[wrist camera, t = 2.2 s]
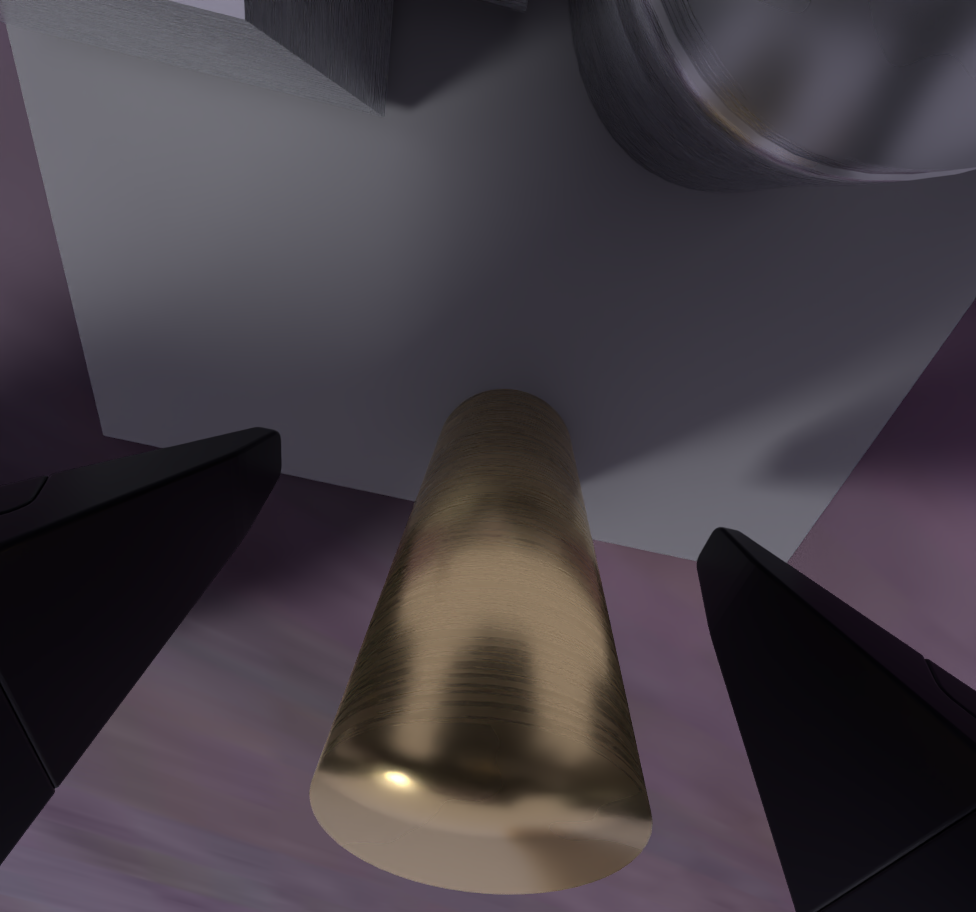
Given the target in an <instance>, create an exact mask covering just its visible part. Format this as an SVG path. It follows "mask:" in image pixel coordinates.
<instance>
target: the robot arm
mask: <svg viewBox="0 0 976 912" xmlns="http://www.w3.org/2000/svg"><path fill="white" fill-rule="evenodd" d="M281 468H282V457H281V436H280V433H279V432H278V431H276V430H273V429H268V428H263V427H253V428H248V429H244V430H240V431H236V432H231V433H227V434H223V435H218V436H214V437H210V438H205V439H201V440H197V441H192V442H188V443H184V444H179V445H175V446H171V447H166V448H162V449H158V450H153V451H149V452H145V453H140V454H136V455H132V456H127V457H123V458H119V459H114V460H110V461H106V462H101V463H97V464H93V465H88V466H84V467H80V468H75V469H71V470H67V471H62V472H58V473H54V474H51V475H50V476H49V477H47V476H40V477H36V478H32V479H27V480H23V481H19V482H14V483H10V484H5V485H1V486H0V865H1V864H2V863H3V861H4V860H5V858H6V857H7V856H8V854H9V853H10V852H11V850H12V849H13V848H14V846H15V845H16V844H17V842H18V841H19V840H20V838H21V837H22V836H23V834H24V833H25V832H26V830H27V829H28V828H29V826H30V825H31V824H32V822H33V821H34V820H35V818H36V817H37V816H38V814H39V813H40V812H41V810H42V809H43V808H44V806H45V805H46V804H47V802H48V801H49V800H50V798H51V797H52V796H53V794H54V793H55V788H57V787H59V785H60V784H61V783H62V781H63V780H64V779H65V777H66V776H67V775H68V773H69V772H70V771H71V769H72V768H73V767H74V765H75V764H76V763H77V761H78V760H79V759H80V757H81V756H82V755H83V753H84V752H85V751H86V749H87V748H88V747H89V745H90V744H91V743H92V741H93V740H94V739H95V737H96V736H97V735H98V733H99V732H100V731H101V729H102V728H103V727H104V725H105V724H106V723H107V721H108V720H109V719H110V717H111V716H112V715H113V713H114V712H115V710H116V709H117V708H118V706H119V705H120V704H121V702H122V701H123V700H124V698H125V697H126V696H127V694H128V693H129V692H130V690H131V689H132V688H133V686H134V685H135V684H136V682H137V681H138V680H139V678H140V677H141V676H142V674H143V673H144V672H145V670H146V669H147V668H148V666H149V665H150V664H151V662H152V661H153V660H154V658H155V657H156V656H157V654H158V653H159V652H160V650H161V649H162V648H163V646H164V645H165V644H166V642H167V641H168V640H169V638H170V637H171V636H172V634H173V633H174V631H175V630H176V629H177V627H178V626H179V625H180V623H181V622H182V621H183V619H184V618H185V617H186V615H187V614H188V613H189V611H190V610H191V609H192V607H193V606H194V605H195V603H196V602H197V601H198V599H199V598H200V597H201V595H202V594H203V593H204V591H205V590H206V589H207V587H208V586H209V585H210V583H211V582H212V581H213V579H214V578H215V577H216V575H217V574H218V573H219V571H220V570H221V569H222V567H223V566H224V565H225V563H226V562H227V561H228V559H229V558H230V557H231V555H232V554H233V552H234V551H235V550H236V548H237V547H238V546H239V544H240V543H241V541H242V540H243V539H244V537H245V536H246V534H247V532H248V531H249V529H250V527H251V526H252V524H253V522H254V520H255V519H256V517H257V515H258V513H259V512H260V510H261V508H262V507H263V505H264V503H265V501H266V500H267V498H268V496H269V494H270V493H271V491H272V489H273V487H274V486H275V484H276V482H277V480H278V479H279V476H280V473H281ZM697 571H698V577H699V582H700V587H701V592H702V597H703V602H704V607H705V612H706V618H707V623H708V627H709V631H710V635H711V639H712V642H713V646H714V649H715V652H716V656H717V659H718V662H719V665H720V669H721V672H722V675H723V678H724V681H725V685H726V688H727V691H728V694H729V698H730V701H731V704H732V707H733V711H734V714H735V717H736V720H737V723H738V727H739V730H740V733H741V736H742V740H743V743H744V746H745V749H746V752H747V756H748V759H749V762H750V765H751V769H752V772H753V775H754V778H755V782H756V785H757V788H758V791H759V794H760V798H761V801H762V804H763V807H764V811H765V814H766V817H767V820H768V823H769V827H770V830H771V833H772V836H773V840H774V843H775V846H776V849H777V853H778V856H779V859H780V862H781V865H782V869H783V872H784V875H785V878H786V882H787V885H788V888H789V891H790V894H791V898H792V901H793V904H794V907H795V911H796V912H976V691H975V690H974V689H972V688H971V687H969V686H968V685H966V684H965V683H963V682H962V681H960V680H959V679H957V678H956V677H954V676H953V675H951V674H950V673H948V672H947V671H945V670H944V669H942V668H941V667H939V666H938V665H936V664H935V663H933V662H932V661H930V660H929V659H924V657H923V655H921V654H920V653H918V652H917V651H916V650H914V649H913V648H911V647H910V646H908V645H907V644H905V643H904V642H902V641H901V640H899V639H898V638H896V637H895V636H893V635H892V634H890V633H889V632H888V631H886V630H885V629H883V628H882V627H880V626H879V625H877V624H876V623H874V622H873V621H871V620H870V619H868V618H867V617H865V616H864V615H862V614H861V613H860V612H858V611H857V610H855V609H854V608H852V607H851V606H849V605H848V604H846V603H845V602H843V601H842V600H840V599H839V598H837V597H836V596H834V595H833V594H832V593H830V592H829V591H827V590H826V589H824V588H823V587H821V586H820V585H818V584H817V583H815V582H814V581H812V580H811V579H809V578H808V577H806V576H805V575H804V574H802V573H801V572H799V571H798V570H796V569H795V568H793V567H792V566H790V565H789V564H787V563H786V562H784V561H783V560H781V559H780V558H778V557H777V556H776V555H774V554H773V553H771V552H770V551H768V550H767V549H765V548H764V547H762V546H761V545H759V544H758V543H756V542H755V541H753V540H752V539H750V538H749V537H748V536H746V535H745V534H743V533H742V532H740V531H738V530H734V529H730V528H725V527H718V528H716V529H715V530H713V532H712V533H711V535H710V537H709V538H708V540H707V542H706V544H705V545H704V547H703V549H702V551H701V552H700V554H699V556H698V559H697Z"/></svg>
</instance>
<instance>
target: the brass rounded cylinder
mask: <svg viewBox="0 0 976 912" xmlns="http://www.w3.org/2000/svg"><path fill="white" fill-rule="evenodd" d="M309 794H310V804H311V807H312V810H313V813H314V815H315V817H316V818H317V820H318V822H319V823H320V825H321V826H322V828H323V829H324V830H325V831H326V832H327V833H328V835H329V836H330V837H332V838H333V839H334V840H335V841H336V842H337V843H338V844H339V845H341V846H342V847H343V848H345V849H346V850H348V851H349V852H350V853H352V854H354V855H355V856H357V857H359V858H360V859H362V860H364V861H365V862H368V863H370V864H372V865H374V866H376V867H378V868H380V869H382V870H385V871H387V872H390V873H392V874H395V875H397V876H401V877H404V878H407V879H410V880H413V881H416V882H420V883H424V884H428V885H432V886H437V887H441V888H446V889H452V890H459V891H465V892H475V893H485V894H532V893H544V892H552V891H559V890H564V889H569V888H574V887H578V886H581V885H585V884H588V883H592V882H594V881H597V880H600V879H602V878H605V877H607V876H609V875H611V874H613V873H615V872H617V871H619V870H621V869H622V868H623V867H625V866H626V865H628V864H629V863H631V862H632V861H633V860H634V859H635V858H636V857H637V856H638V855H639V854H640V853H641V852H642V850H643V849H644V847H645V846H646V845H647V843H648V840H649V838H650V835H651V831H652V816H651V810H650V805H649V801H648V796H647V791H646V787H645V782H644V777H643V773H642V768H641V764H640V759H639V754H638V750H637V745H636V740H635V736H634V731H633V726H632V722H631V717H630V713H629V708H628V703H627V699H626V694H625V689H624V685H623V680H622V675H621V671H620V666H619V662H618V657H617V652H616V648H615V643H614V638H613V634H612V629H611V624H610V620H609V615H608V611H607V606H606V601H605V597H604V592H603V587H602V583H601V578H600V573H599V569H598V564H597V560H596V555H595V550H594V546H593V541H592V536H591V532H590V527H589V522H588V518H587V513H586V509H585V504H584V499H583V495H582V490H581V485H580V481H579V476H578V471H577V467H576V462H575V458H574V453H573V448H572V444H571V439H570V435H569V432H568V429H567V427H566V425H565V423H564V421H563V419H562V418H561V416H560V415H559V414H558V413H557V411H556V410H555V409H554V408H553V407H552V406H550V405H549V404H548V403H546V402H545V401H544V400H542V399H540V398H539V397H537V396H534V395H532V394H530V393H526V392H523V391H519V390H512V389H496V390H490V391H485V392H482V393H479V394H476V395H474V396H472V397H470V398H468V399H466V400H465V401H464V402H462V403H461V404H459V405H458V406H457V407H456V408H455V409H454V410H453V411H452V413H451V414H450V415H449V416H448V418H447V420H446V421H445V423H444V425H443V428H442V430H441V433H440V436H439V438H438V441H437V444H436V446H435V449H434V452H433V455H432V457H431V460H430V463H429V465H428V468H427V471H426V473H425V476H424V479H423V482H422V484H421V487H420V490H419V492H418V495H417V498H416V500H415V503H414V506H413V509H412V511H411V514H410V517H409V519H408V522H407V525H406V527H405V530H404V533H403V536H402V538H401V541H400V544H399V546H398V549H397V552H396V554H395V557H394V560H393V563H392V565H391V568H390V571H389V573H388V576H387V579H386V581H385V584H384V587H383V590H382V592H381V595H380V598H379V600H378V603H377V606H376V608H375V611H374V614H373V617H372V619H371V622H370V625H369V627H368V630H367V633H366V635H365V638H364V641H363V644H362V646H361V649H360V652H359V654H358V657H357V660H356V662H355V665H354V668H353V671H352V673H351V676H350V679H349V681H348V684H347V687H346V689H345V692H344V695H343V698H342V700H341V703H340V706H339V708H338V711H337V714H336V716H335V719H334V722H333V725H332V727H331V730H330V733H329V735H328V738H327V741H326V743H325V746H324V749H323V752H322V754H321V757H320V760H319V762H318V765H317V768H316V770H315V773H314V776H313V779H312V781H311V786H310V792H309Z"/></svg>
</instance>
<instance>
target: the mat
mask: <svg viewBox="0 0 976 912" xmlns="http://www.w3.org/2000/svg"><path fill="white" fill-rule="evenodd" d="M6 27H7V31H8V35H9V40H10V44H11V48H12V52H13V57H14V61H15V65H16V69H17V73H18V78H19V82H20V86H21V90H22V95H23V99H24V103H25V107H26V111H27V116H28V120H29V124H30V128H31V132H32V137H33V141H34V145H35V149H36V154H37V158H38V162H39V166H40V170H41V175H42V179H43V183H44V187H45V192H46V196H47V200H48V204H49V208H50V213H51V217H52V221H53V225H54V230H55V234H56V238H57V242H58V246H59V251H60V255H61V259H62V263H63V267H64V272H65V276H66V280H67V284H68V289H69V293H70V297H71V301H72V305H73V310H74V314H75V318H76V322H77V327H78V331H79V335H80V339H81V343H82V348H83V352H84V356H85V360H86V365H87V369H88V373H89V377H90V381H91V386H92V390H93V394H94V398H95V402H96V407H97V411H98V415H99V419H100V424H101V428H102V432H103V436H108V437H113V438H118V439H122V440H127V441H132V442H136V443H141V444H146V445H151V446H155V447H160V448H166V447H171V446H175V445H179V444H184V443H188V442H192V441H197V440H201V439H205V438H210V437H214V436H218V435H223V434H227V433H231V432H236V431H240V430H244V429H248V428H253V427H263V428H268V429H273V430H276V431H278V432H279V433H280V436H281V457H282V468H281V473H283V474H287V475H292V476H297V477H302V478H306V479H311V480H316V481H320V482H325V483H330V484H335V485H339V486H344V487H349V488H353V489H358V490H363V491H368V492H372V493H377V494H382V495H386V496H391V497H396V498H401V499H405V500H410V501H415V500H416V498H417V495H418V492H419V490H420V487H421V484H422V482H423V479H424V476H425V473H426V471H427V468H428V465H429V463H430V460H431V457H432V455H433V452H434V449H435V446H436V444H437V441H438V438H439V436H440V433H441V430H442V428H443V425H444V423H445V421H446V420H447V418H448V416H449V415H450V414H451V413H452V411H453V410H454V409H455V408H456V407H457V406H458V405H459V404H461V403H462V402H464V401H465V400H466V399H468V398H470V397H472V396H474V395H476V394H479V393H482V392H485V391H490V390H496V389H512V390H519V391H523V392H526V393H530V394H532V395H534V396H537V397H539V398H540V399H542V400H544V401H545V402H546V403H548V404H549V405H550V406H552V407H553V408H554V409H555V410H556V411H557V413H558V414H559V415H560V416H561V418H562V419H563V421H564V423H565V425H566V427H567V429H568V432H569V435H570V439H571V444H572V448H573V453H574V458H575V462H576V467H577V471H578V476H579V481H580V485H581V490H582V495H583V499H584V504H585V509H586V513H587V518H588V522H589V527H590V532H591V536H592V539H594V540H599V541H604V542H608V543H613V544H618V545H622V546H627V547H632V548H637V549H641V550H646V551H651V552H655V553H660V554H665V555H670V556H674V557H679V558H684V559H688V560H693V561H697V559H698V556H699V554H700V552H701V551H702V549H703V547H704V545H705V544H706V542H707V540H708V538H709V537H710V535H711V533H712V532H713V530H715V529H716V528H718V527H725V528H730V529H734V530H738V531H740V532H742V533H743V534H745V535H746V536H748V537H749V538H750V539H752V540H753V541H755V542H756V543H758V544H759V545H761V546H762V547H764V548H765V549H767V550H768V551H770V552H771V553H773V554H774V555H776V556H777V557H778V558H780V559H781V560H783V561H784V562H786V563H787V561H788V560H789V559H790V557H791V556H792V554H793V553H794V552H795V550H796V549H797V547H798V546H799V545H800V543H801V542H802V540H803V539H804V538H805V536H806V535H807V533H808V532H809V531H810V529H811V528H812V526H813V525H814V524H815V522H816V521H817V519H818V518H819V517H820V515H821V514H822V512H823V511H824V510H825V508H826V507H827V505H828V504H829V503H830V501H831V500H832V498H833V497H834V496H835V494H836V493H837V492H838V490H839V489H840V487H841V486H842V485H843V483H844V482H845V480H846V479H847V478H848V476H849V475H850V473H851V472H852V471H853V469H854V468H855V466H856V465H857V464H858V462H859V461H860V459H861V458H862V457H863V455H864V454H865V452H866V451H867V450H868V448H869V447H870V445H871V444H872V443H873V441H874V440H875V438H876V437H877V436H878V434H879V433H880V431H881V430H882V429H883V427H884V426H885V424H886V423H887V422H888V420H889V419H890V417H891V416H892V415H893V413H894V412H895V410H896V409H897V408H898V406H899V405H900V403H901V402H902V401H903V399H904V398H905V396H906V395H907V394H908V392H909V391H910V389H911V388H912V387H913V385H914V384H915V382H916V381H917V380H918V378H919V377H920V375H921V374H922V373H923V371H924V370H925V368H926V367H927V366H928V364H929V363H930V361H931V360H932V359H933V357H934V356H935V354H936V353H937V352H938V350H939V349H940V347H941V346H942V345H943V343H944V342H945V340H946V339H947V338H948V336H949V335H950V333H951V332H952V331H953V329H954V328H955V326H956V325H957V324H958V322H959V321H960V319H961V318H962V317H963V315H964V314H965V312H966V311H967V310H968V308H969V307H970V305H971V304H972V303H973V301H974V300H975V298H976V169H975V170H971V171H967V172H963V173H959V174H955V175H947V176H939V177H932V178H924V179H916V180H908V181H896V182H885V183H873V184H861V185H850V186H809V185H801V186H791V187H781V188H771V189H761V190H751V191H741V192H705V191H699V190H693V189H688V188H685V187H682V186H679V185H676V184H673V183H670V182H667V181H665V180H663V179H662V178H660V177H658V176H656V175H654V174H652V173H650V172H648V171H647V170H646V169H644V168H643V167H642V166H641V165H639V164H638V163H637V162H635V161H634V160H633V159H631V158H630V157H629V156H628V155H627V154H626V152H625V151H624V150H623V149H622V148H621V147H620V146H619V145H618V144H617V143H616V142H615V141H614V139H613V138H612V137H611V135H610V134H609V132H608V131H607V129H606V128H605V127H604V125H603V124H602V122H601V121H600V119H599V117H598V115H597V113H596V111H595V109H594V107H593V105H592V103H591V101H590V99H589V97H588V94H587V92H586V89H585V86H584V83H583V81H582V78H581V75H580V72H579V68H578V64H577V60H576V55H575V51H574V47H573V42H572V34H571V26H570V18H569V5H568V0H528V5H527V10H526V13H524V12H520V11H516V10H512V9H508V8H505V7H501V6H497V5H493V4H489V3H486V2H482V1H478V0H394V5H393V18H392V31H391V44H390V56H389V69H388V82H387V95H386V108H385V118H384V117H380V116H376V115H372V114H368V113H364V112H360V111H356V110H352V109H348V108H344V107H340V106H336V105H332V104H328V103H324V102H319V101H315V100H311V99H307V98H303V97H299V96H295V95H291V94H287V93H283V92H279V91H275V90H271V89H267V88H263V87H259V86H255V85H251V84H247V83H243V82H239V81H235V80H231V79H227V78H223V77H219V76H215V75H211V74H206V73H202V72H198V71H194V70H190V69H186V68H182V67H178V66H174V65H170V64H166V63H162V62H158V61H154V60H150V59H146V58H142V57H138V56H134V55H130V54H126V53H122V52H118V51H114V50H110V49H106V48H102V47H98V46H93V45H89V44H85V43H81V42H77V41H73V40H69V39H65V38H61V37H57V36H53V35H49V34H45V33H41V32H37V31H33V30H29V29H25V28H21V27H17V26H13V25H9V24H6Z"/></svg>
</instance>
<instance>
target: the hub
mask: <svg viewBox="0 0 976 912" xmlns="http://www.w3.org/2000/svg"><path fill="white" fill-rule="evenodd" d="M568 5H569V18H570V26H571V34H572V42H573V47H574V51H575V55H576V60H577V64H578V68H579V72H580V75H581V78H582V81H583V83H584V86H585V89H586V92H587V94H588V97H589V99H590V101H591V103H592V105H593V107H594V109H595V111H596V113H597V115H598V117H599V119H600V121H601V122H602V124H603V125H604V127H605V128H606V129H607V131H608V132H609V134H610V135H611V137H612V138H613V139H614V141H615V142H616V143H617V144H618V145H619V146H620V147H621V148H622V149H623V150H624V151H625V152H626V154H627V155H628V156H629V157H630V158H631V159H633V160H634V161H635V162H637V163H638V164H639V165H641V166H642V167H643V168H644V169H646V170H647V171H648V172H650V173H652V174H654V175H656V176H658V177H660V178H662V179H663V180H665V181H667V182H670V183H673V184H676V185H679V186H682V187H685V188H688V189H693V190H699V191H705V192H741V191H751V190H761V189H771V188H781V187H791V186H801V185H809V186H850V185H861V184H873V183H885V182H896V181H908V180H916V179H924V178H932V177H939V176H947V175H955V174H959V173H963V172H967V171H971V170H975V169H976V0H568Z"/></svg>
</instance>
